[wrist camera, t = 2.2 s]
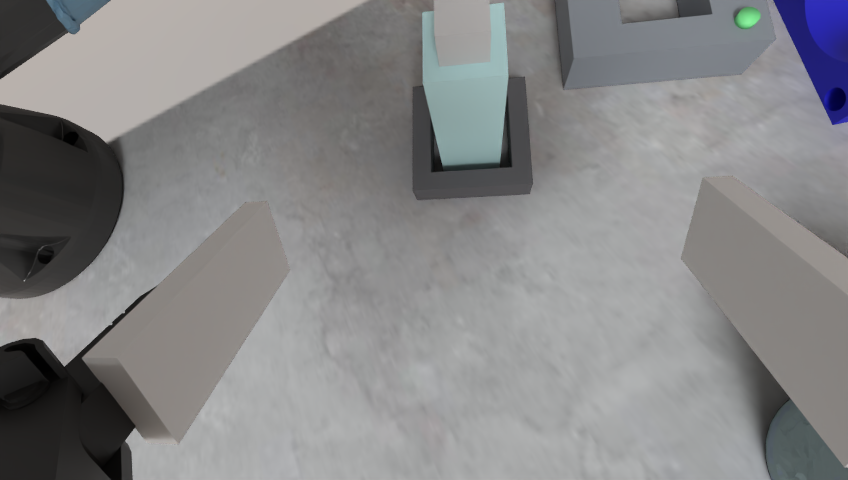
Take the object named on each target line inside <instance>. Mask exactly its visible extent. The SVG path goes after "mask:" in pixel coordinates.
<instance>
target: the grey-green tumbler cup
mask: <svg viewBox="0 0 848 480" xmlns="http://www.w3.org/2000/svg"><path fill="white" fill-rule="evenodd" d="M766 460H767V466H768V470H769V473H770V476H771V479H772V480H848V468H845V467H844V466H843V465H842V464H841V462H840V461H839V460H838V458H837V457H836V456H835V455H834V453H833V452H832V451H831V449H830V448H829V447H828V446H827V444H826V443H825V442H824V441H823V439H822V438H821V437H820V435H819V434H818V433H817V432H816V430H815V429H814V428H813V426H812V425H811V424H810V423H809V421H808V420H807V419H806V418H805V416H804V415H803V414H802V412H801V411H800V410H799V409H798V407H797V406H796V405H795V403H794V402H793V401H792V400H791V399H790V400H789V401H787V402H786V403H785V404H784V405H783V406H782V407H781V408H780V409H779V411H778V412H777V413H776V415H775V417H774V418H773V420H772V422H771V424H770V427H769V431H768V434H767V439H766Z"/></svg>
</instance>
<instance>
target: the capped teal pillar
mask: <svg viewBox="0 0 848 480" xmlns="http://www.w3.org/2000/svg"><path fill="white" fill-rule="evenodd" d="M422 42H423V86H424V90H425V94H426V99H427V103H428V107H429V111H430V115H431V120H432V124H433V128H434V132H435V136H436V141H437V145H438V149H439V153H440V157H441V162H442V166H443V170H444V172H445V171H461V170H477V169H493V168H499V167H500V157H501V147H502V137H503V126H504V116H505V106H506V96H507V86H508V59H507V44H506V28H505V12H504V3H497V4H490V3H489V0H434V11H429V12H422Z"/></svg>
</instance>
